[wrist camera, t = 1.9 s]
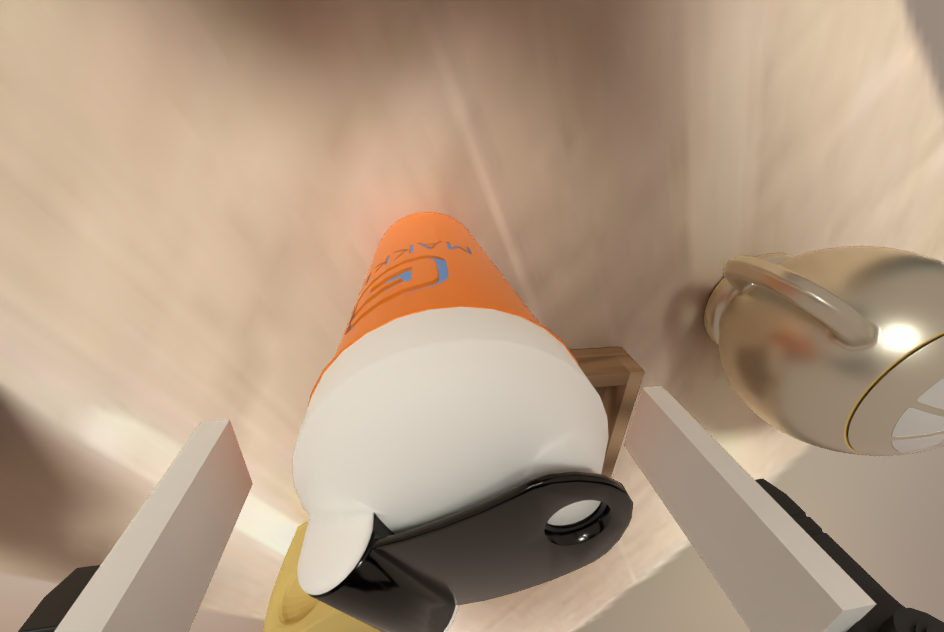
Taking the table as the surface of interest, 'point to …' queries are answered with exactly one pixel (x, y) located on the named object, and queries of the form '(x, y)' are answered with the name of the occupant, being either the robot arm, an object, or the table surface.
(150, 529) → the robot arm
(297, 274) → the table surface
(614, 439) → the tray
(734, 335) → the teapot
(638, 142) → the table surface
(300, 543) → the cheese
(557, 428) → the shaker bottle
